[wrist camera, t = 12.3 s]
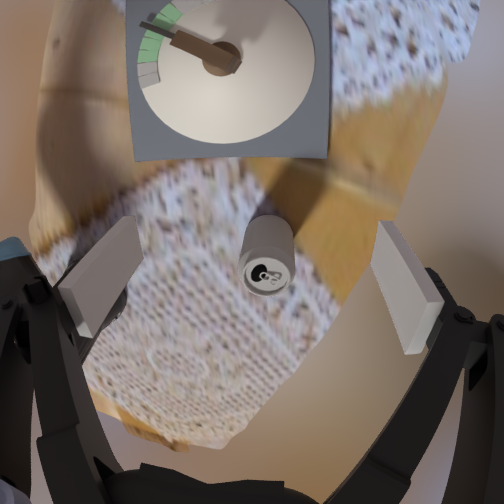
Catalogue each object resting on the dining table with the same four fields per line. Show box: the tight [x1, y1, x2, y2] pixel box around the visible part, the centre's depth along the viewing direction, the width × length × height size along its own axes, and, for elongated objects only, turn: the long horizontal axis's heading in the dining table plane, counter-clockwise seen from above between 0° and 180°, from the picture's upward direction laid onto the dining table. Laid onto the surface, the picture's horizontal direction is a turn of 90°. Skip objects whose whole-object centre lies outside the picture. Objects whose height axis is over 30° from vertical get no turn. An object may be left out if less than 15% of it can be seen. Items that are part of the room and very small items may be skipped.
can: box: [237, 215, 295, 297], centre depth 43 cm, size 8×8×12 cm
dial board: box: [126, 0, 330, 162], centre depth 34 cm, size 28×28×2 cm
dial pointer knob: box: [139, 21, 242, 77], centre depth 27 cm, size 5×16×11 cm, turn 58°
